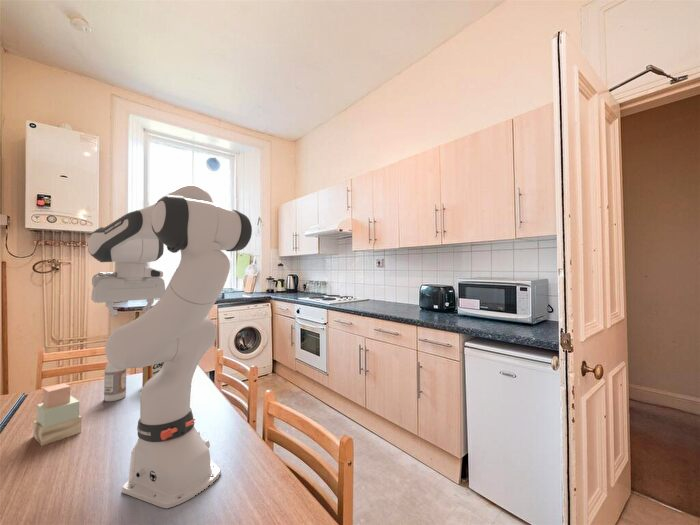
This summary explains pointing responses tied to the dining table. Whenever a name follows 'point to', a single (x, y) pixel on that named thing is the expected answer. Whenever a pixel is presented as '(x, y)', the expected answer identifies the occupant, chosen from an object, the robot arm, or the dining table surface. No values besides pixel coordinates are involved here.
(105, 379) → the bath foam
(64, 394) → the terracotta cube
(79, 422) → the birch base block
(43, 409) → the sage middle block
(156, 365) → the baking soda box
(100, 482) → the dining table surface
